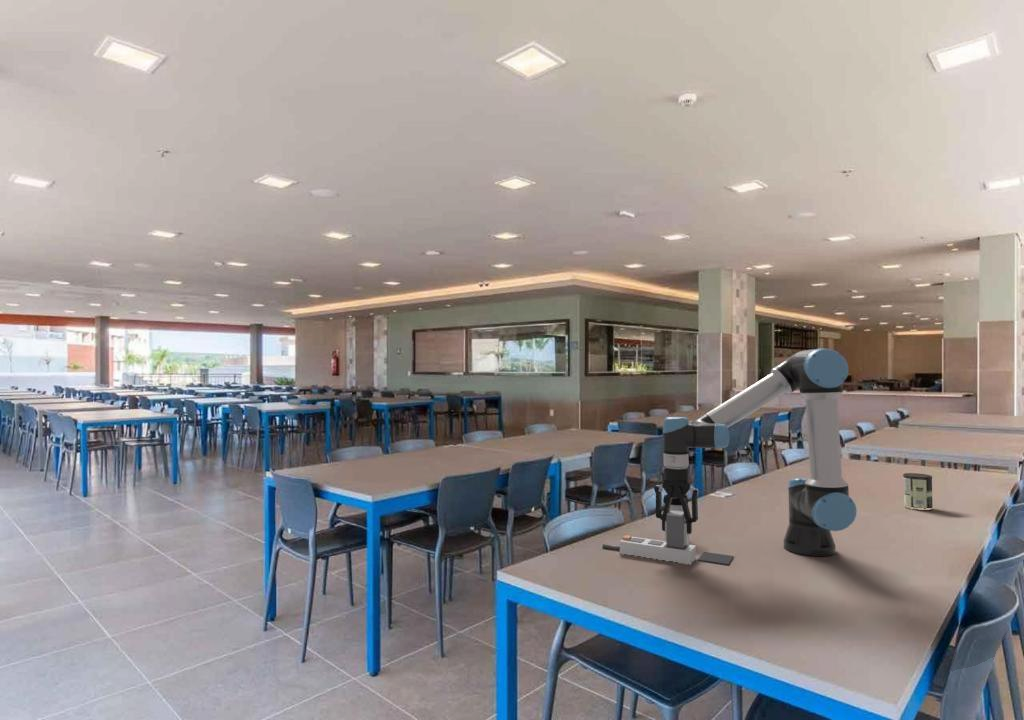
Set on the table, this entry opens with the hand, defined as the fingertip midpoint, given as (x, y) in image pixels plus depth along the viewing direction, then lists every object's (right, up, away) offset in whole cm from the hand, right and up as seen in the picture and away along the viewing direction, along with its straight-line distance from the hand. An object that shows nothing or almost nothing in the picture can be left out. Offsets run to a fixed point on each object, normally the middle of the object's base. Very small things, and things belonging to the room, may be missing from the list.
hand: (676, 542), depth 182 cm
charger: (0, -1, 0) cm, 1 cm away
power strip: (-8, -5, +5) cm, 11 cm away
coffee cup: (+6, -6, +23) cm, 24 cm away
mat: (+12, -5, 0) cm, 13 cm away
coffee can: (+122, -7, +69) cm, 140 cm away
